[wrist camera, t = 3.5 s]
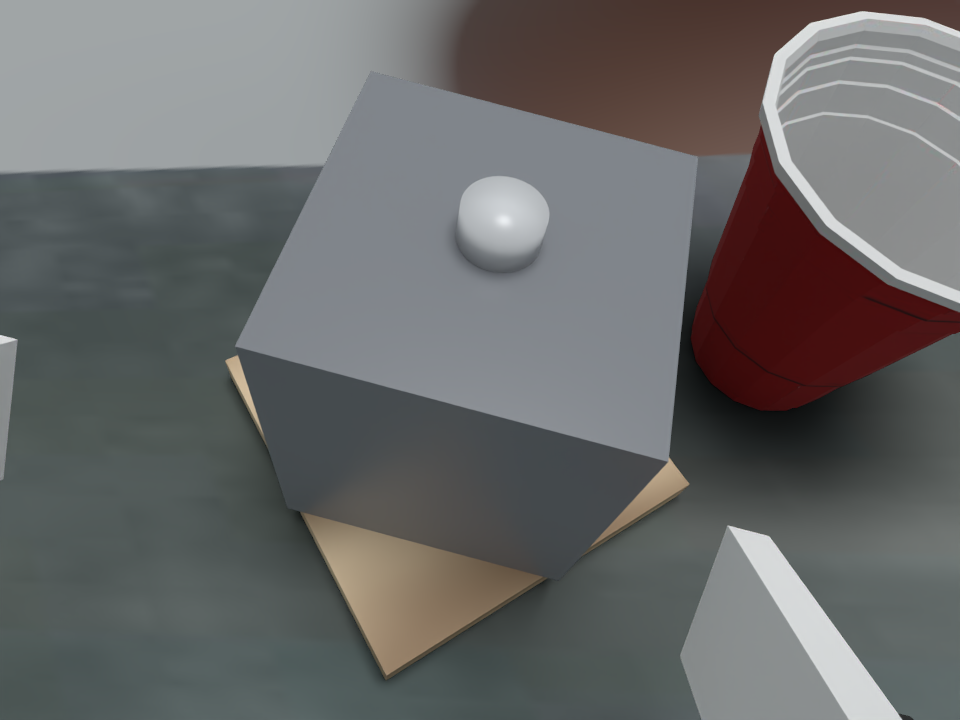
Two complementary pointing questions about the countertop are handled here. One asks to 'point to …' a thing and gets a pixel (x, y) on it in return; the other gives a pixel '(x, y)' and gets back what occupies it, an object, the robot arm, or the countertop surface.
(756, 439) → the countertop surface
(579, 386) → the grey knobbed cube
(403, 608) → the oak board
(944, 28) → the plastic cup
